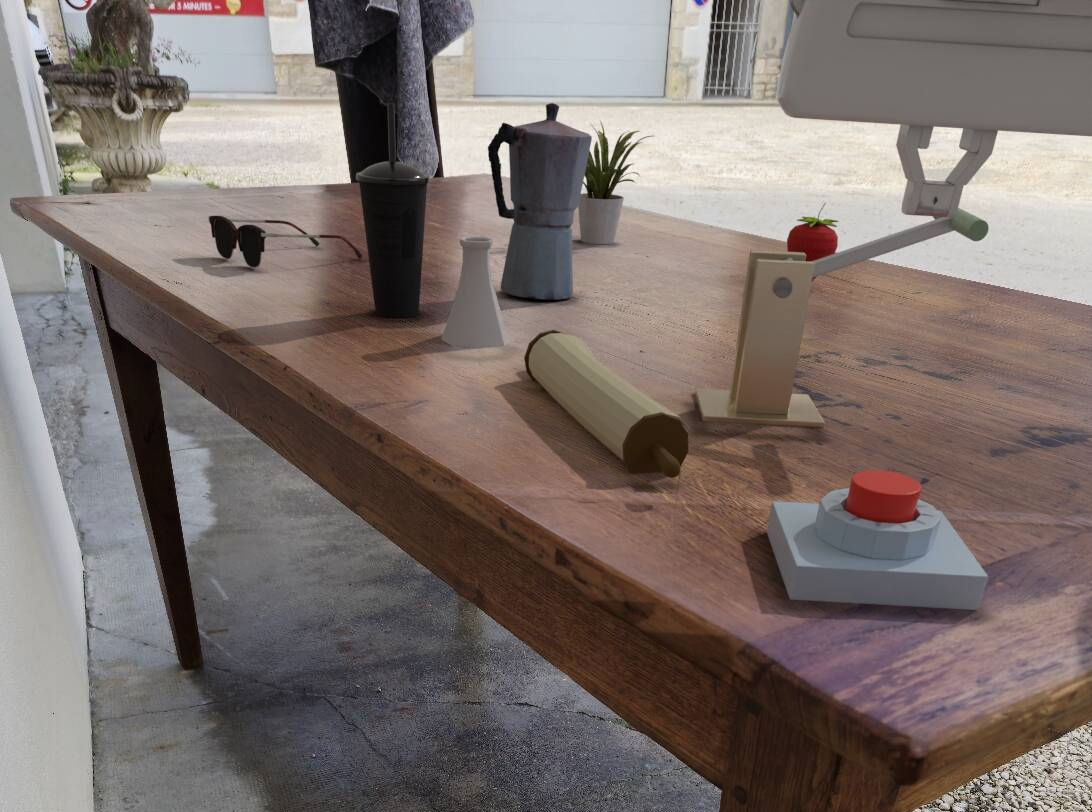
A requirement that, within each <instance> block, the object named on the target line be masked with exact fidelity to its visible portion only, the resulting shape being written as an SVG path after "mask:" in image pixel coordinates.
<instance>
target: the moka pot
mask: <svg viewBox="0 0 1092 812" xmlns="http://www.w3.org/2000/svg"><path fill="white" fill-rule="evenodd" d="M559 110H560V105H558V104H557V103H554V102H550V103H547V104H545V113H546V115H545V116H546V118H545V119H543V120H540V121H539V120H538V121H535V122H529V123H525V124H520V125H515V126H513V125H512V124H509V123H507V122H502V123H501V126H500V127H498V131H497V133H495V135H494V136H493V138H492V139H491V142H490V143H489V144H488V146H487V151H488V152H487V153H488V156H487V157H488V161H489V163H490V169H491V170H490V171H491V177H492V181H493V189H494V194H495V202H496V206H497V207H496V208H497V210H498V216H499V217H501V218H504V219H506V220H507V219H509V220H513V222H512V223H513V224H512V226H511V230H510V235H509V241H508V246H507V251H506V256H505V262H504V267H503V272H502V276H501V281H500V289H501V291H502V292H503V293H504V294H507V295H509V296H514V297H519V298H524V299H534V300H547V301H559V300H567V299H571V298H572V297H573V293H574V282H573V281H574V279H573V277H574V275H573V230H572V228H571V226H572V225H573V224H574V217H575V210H577V209H578V205H579V200H580V195H581V194H582V189H583V185H584V184H583V182H584V181H585V176H584V175H585V170H586V165H587V160H588V155H589V150H590V151H591V145H592V141H593V140H592V139H593V137H592V135H590V134H589V133H588V132H585V131H581V130H579V129H577V128H574V127H571V126H570V125H566V124H564V123H563V122H560V121H557V117H558V113H559ZM503 143H506V144H507V145H508V152H509V153H508V160H509V186H510V187H509V188H510V201H511V202H512V205H513V208H510V209H509V208H508V207H507V204H506V200H505V196H504V188H503V181H502V180H503V179H502V163H501V159H500V155H499V150H500V149H501V145H502V144H503Z"/></svg>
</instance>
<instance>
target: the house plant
mask: <svg viewBox="0 0 1092 812" xmlns="http://www.w3.org/2000/svg"><path fill="white" fill-rule="evenodd" d="M588 122H589V124H590V125H591V127H592V128H593V129H594V131H595V133H596V135H597V137H598V140H596V141H595V143H594V147H593V154H592V152H591V149H590V150H589V155H588V160H587V165H586V170H585V175H584V178H585V179H586V182H585V181H583V185H584V187H585V190H586V192H585V193H581V195H580V200H579V205H578V207H577V209H578V210H577V211H578V221H579V235H580V241H581V242H582V243H584V244H591V245H611V244H612V245H613V244H615V239H616V236H617V232H618V227H619V221H620V218H621V213H622V209H623V204H624V198H625V197H624V196H622V195H619V194H614V193H613V192H614V190H615V188H616V187H617V185H618V184H620V183H622V182H632V183H635V184H637V182H636V181H635V180H634V179H632V178H631V179H630V178H626V179H623V178H624V177H625V176H627V175H630V174H636V175H638V176H639V178H640V179H642V178H641V176H640V174H639V173H638V172H635V171H633V172H628V173H625V172H626V171H627V170H628V169H629V168H630V166H633V165H636V164H637V163H628V164H626V165H624V163H625V162H626V160H627V158H628V157H629V155H630V153H632V151H633V150H634V149H635V148H636V147H637V146H638V145H639V144H644V141H643V142H642V140H644V139H647V138H651V137H652V138H653V137H654V135H647V136H644V137H642V138H640V139H638V140H637V141H636V142H635V143H633V144H632V141H630V142H628V141H629V140H630V139H632V137H633V136H634V134H636V133H640V130H634V131H631V130H628V131H625V132H623V133H622V134H621V135H620V136H619V137H618V139H617V141H616V143H615V146H614V149H613V153H612V155H611V158H610V160H609V151H610V150H609V141H608V138H607V136H606V135H605V128H604V125H603V123H602V121H601V120H599V122H600V125H601V128H602V131H600V130H597V129H596V128H595V127H594V125H592V123H591V122H590V121H588ZM626 133H627V134H626ZM623 135H625V136H623ZM640 141H641V142H640ZM627 142H628V143H627ZM630 145H631V146H630ZM599 146H600V148H599ZM629 146H630V147H629ZM628 147H629V148H628ZM627 148H628V149H627ZM593 156H594V157H593ZM622 156H623V157H622ZM600 157H601V158H600ZM621 157H622V159H621ZM620 159H621V160H620ZM619 160H620V162H619ZM618 162H619V164H618ZM617 164H618V166H617ZM623 165H624V166H623Z"/></svg>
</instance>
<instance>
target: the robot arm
mask: <svg viewBox="0 0 1092 812" xmlns="http://www.w3.org/2000/svg"><path fill="white" fill-rule="evenodd" d="M789 2H790V7H791V9H792V11H793V13H794V17H793V20H792V23H791V27H790V29H789V34H788V37H787V41H786V46H785V49H784V53H783V57H782V61H781V65H780V70H779V76H778V80H777V86H776V92H775V95H776V96H775V97H776V100H777V103H778V105H779V107H780V108H781V110H782V111H783V113H784V115H786V116H787V117H790V118H793V119H805V120H806V119H807V120H821V121H838V122H853V123H869V124H883V125H885V124H887V125H899V130H898V134H897V140H896V143H895V146H896V150H897V153H898V156H899V160H900V164H901V167H902V170H903V173H904V174H903V175H904V177H905V179H906V185H905V190H904V194H903V197H902V202H901V213H902V214H904V215H906V216H918V217H919V216H920V217H933V216H935V217H948V218H954V217H955V215H956V213H957V210H958V208H959V206H960V202H961V198H962V194H963V189H964V187H965V186H967V185H968V184H969V182H970V181H971V180H972V179H973V177H974V176H975V175H976V174H977V173H978V172H979V170H980V169H981V168H982V167H983V165H984V164H985V163H986V162H987V161H988V160H989V158H990V157H991V156H992V154H993V151H994V147H995V143H996V139H997V136H998V132H1013V133H1028V134H1029V133H1031V134H1045V135H1061V136H1063V135H1064V136H1077V137H1092V0H789ZM934 127H935V128H950V129H962V132H961V136H960V140H959V145H958V147H959V149H961V150H963V151H966V152H965V153H964V155H963V156H962V157H961V158H960V160H959V161H958V162H957V163H956V165H955V166H954V168H953V169H952V171H951V172H950V173H949V175H948V176H947V177H946V178H945V180H929V179H926V176H925V173H924V169H923V165H922V160H921V157H920V152H919V149H920V150H927V149H929V147H930V142H931V138H932V134H933V131H934Z"/></svg>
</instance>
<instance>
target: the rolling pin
mask: <svg viewBox="0 0 1092 812" xmlns="http://www.w3.org/2000/svg"><path fill="white" fill-rule="evenodd" d="M523 360H524V366H525V373H526V374H527V375H528V376H529V378H530V380H532V381H537V383H539V385H540V386H542V388H543V389H544V390H545V391H546V392H547V393H548V394H549V395H550V396H551V397H552V398H553V399H554V400H555V401H556V402H557V404H559V405H560V406H561V407H562V408H563V409H564V410H565V411H566V412H567V413H568V414H569V415H570V416H571V417H572V418H573V419H574V420H575V421H576V422H577V423H579V424H580V425H581V426H582V427H583V428H584V429H585V430H586V431H588V432H589V433H590V434H591V435H592V436H593V437H594V438H595V439H597V440H598V442H600V443H601V444H602V445H603V446H604V447H606V449H608V450H609V451H610V452H612V453H613V454H614V455H615V456H616V457H617V458H618V459H620V460H621V461H622V462H623V464H624V465H625V467H626V468H627V470H629V472H630V473H631V475H639V474H656V473H662V474H663V475H665V477H667V478H670V479H673V478H677V477H678V476H679V475H680V473H681V469H682V468H681V467H682V466H683V463H684V461H685V459H686V457H687V455H688V454H689V433H688V431H687V430H686V429H688V430H690V429H691V426H690V425H689V424H688V423H687V422H686V421H685V420H684V419H683V418H682V417H681V416H680V415H678V414H676V413H675V412H673V411H672V410H670V409H669V408H668V407H665V406H664V405H663V404H661V403H659V402H657V400H655V399H654V398H653V399H652V398H651V397H650V396H648V395H646V394H645V393H644V392H643V391H641V390H640V389H638V388H637V387H635V386H633V385H632V384H631V383H629V381H627V380H625V379H623V378H622V377H621V376H620V375H618V374H616V372H614V371H613V370H612V369H610V368H608V367H607V366H606V365H605V364H603V363H602V362H600V361H599V360H598V358H597V357H596V356H595V355H594V353H593V352H592V350H591V349H590V348H589V346H588V344H587V343H586V341H585V340H584V339H582V338H580V337H577V336H575V335H571V334H568V333H565V332H562V331H559V330H556V329H551V330H547V331H543V332H539V333H538V334H537V335H536V336H535V337H533V339H532V340H530V342H529V343H528V345H527V347H526V352H525V354H524V357H523Z"/></svg>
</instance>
